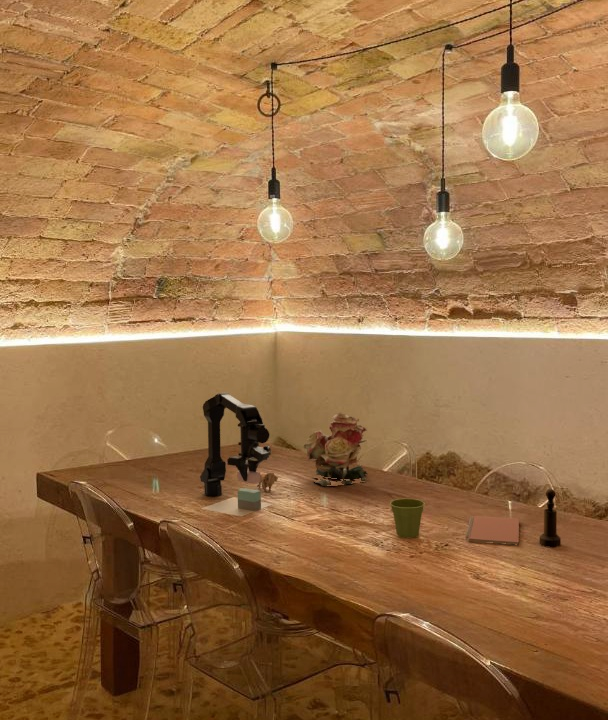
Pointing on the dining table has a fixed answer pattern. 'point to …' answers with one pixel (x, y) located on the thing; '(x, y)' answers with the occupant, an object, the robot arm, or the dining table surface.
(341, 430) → the rose bouquet
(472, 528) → the notebook
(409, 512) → the plant pot
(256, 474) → the mauve brick
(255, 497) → the teal brick
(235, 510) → the baseplate
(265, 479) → the lion figurine
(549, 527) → the black pepper mill
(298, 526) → the dining table surface
